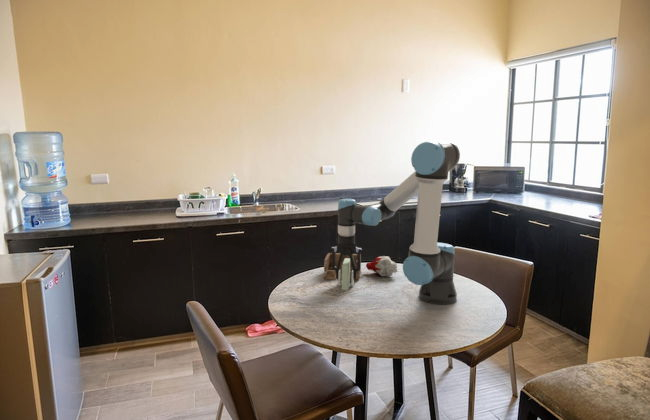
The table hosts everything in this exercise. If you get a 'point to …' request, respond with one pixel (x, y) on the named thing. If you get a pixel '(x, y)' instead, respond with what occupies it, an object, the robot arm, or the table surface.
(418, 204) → the robot arm
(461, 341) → the table surface
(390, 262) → the white and red lump
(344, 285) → the door
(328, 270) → the cabinet
